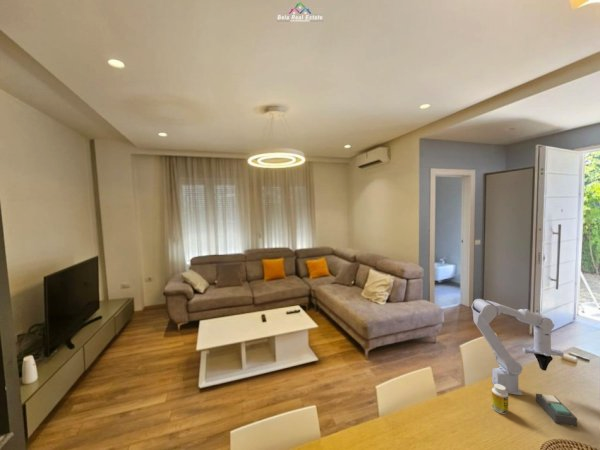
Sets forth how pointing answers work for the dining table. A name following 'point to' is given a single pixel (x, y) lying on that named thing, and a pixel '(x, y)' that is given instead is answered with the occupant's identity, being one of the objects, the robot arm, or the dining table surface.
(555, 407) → the key teal
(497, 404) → the supplement bottle
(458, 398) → the dining table surface
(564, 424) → the board
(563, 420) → the bezel
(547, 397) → the key cream
